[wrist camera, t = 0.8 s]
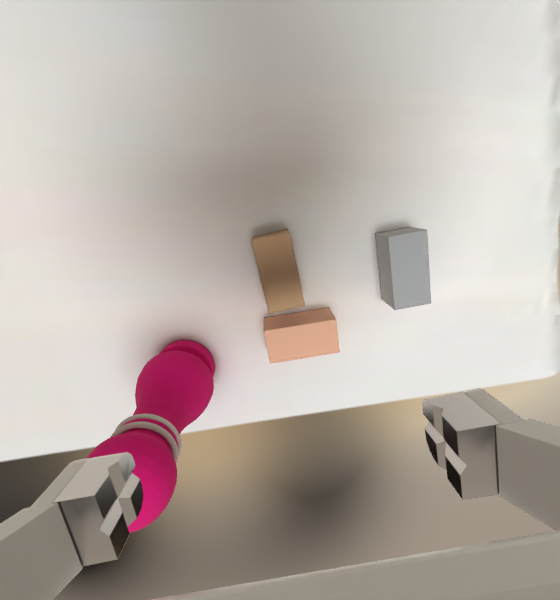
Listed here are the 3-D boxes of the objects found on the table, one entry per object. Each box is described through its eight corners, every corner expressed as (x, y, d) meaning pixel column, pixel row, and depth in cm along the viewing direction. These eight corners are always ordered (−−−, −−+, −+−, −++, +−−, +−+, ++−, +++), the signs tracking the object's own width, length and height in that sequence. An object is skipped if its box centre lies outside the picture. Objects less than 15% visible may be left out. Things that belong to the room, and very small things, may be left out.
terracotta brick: (269, 346, 36) (269, 363, 33) (264, 317, 35) (263, 331, 32) (332, 336, 36) (339, 352, 33) (328, 306, 35) (335, 319, 32)
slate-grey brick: (374, 233, 33) (388, 237, 30) (408, 226, 33) (426, 229, 29) (381, 298, 35) (394, 309, 31) (413, 292, 35) (431, 303, 31)
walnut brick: (253, 236, 33) (251, 241, 29) (287, 229, 33) (289, 232, 29) (269, 301, 35) (269, 313, 31) (301, 294, 35) (305, 306, 31)
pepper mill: (223, 340, 36) (171, 498, 17) (215, 398, 38) (160, 597, 19) (156, 330, 35) (22, 481, 16) (151, 389, 37) (27, 585, 18)
